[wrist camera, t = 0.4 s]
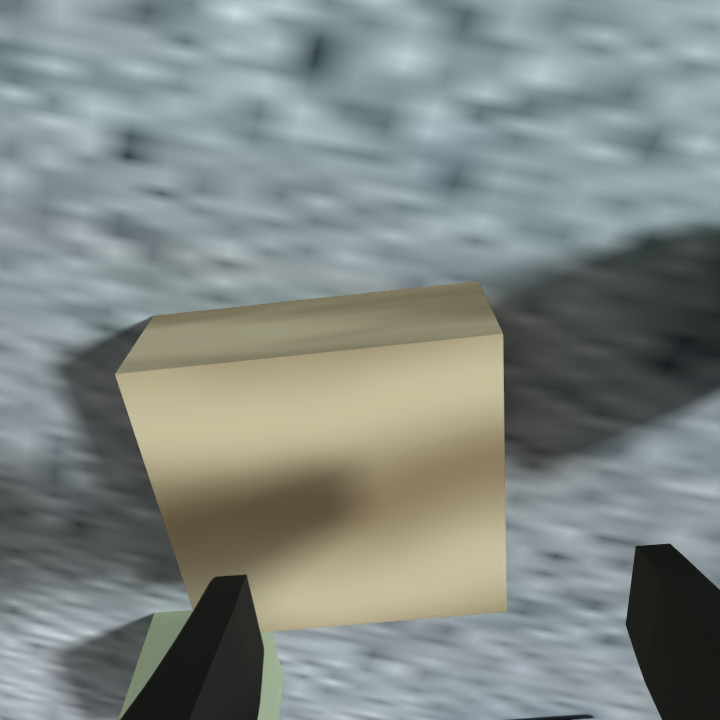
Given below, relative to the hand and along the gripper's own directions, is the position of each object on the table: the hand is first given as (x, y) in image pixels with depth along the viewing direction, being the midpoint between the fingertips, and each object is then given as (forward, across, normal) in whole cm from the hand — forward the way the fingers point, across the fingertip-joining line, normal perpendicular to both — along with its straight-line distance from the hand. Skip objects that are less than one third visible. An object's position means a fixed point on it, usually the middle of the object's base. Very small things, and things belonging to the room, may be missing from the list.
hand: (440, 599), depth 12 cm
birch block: (+10, +3, +3) cm, 11 cm away
